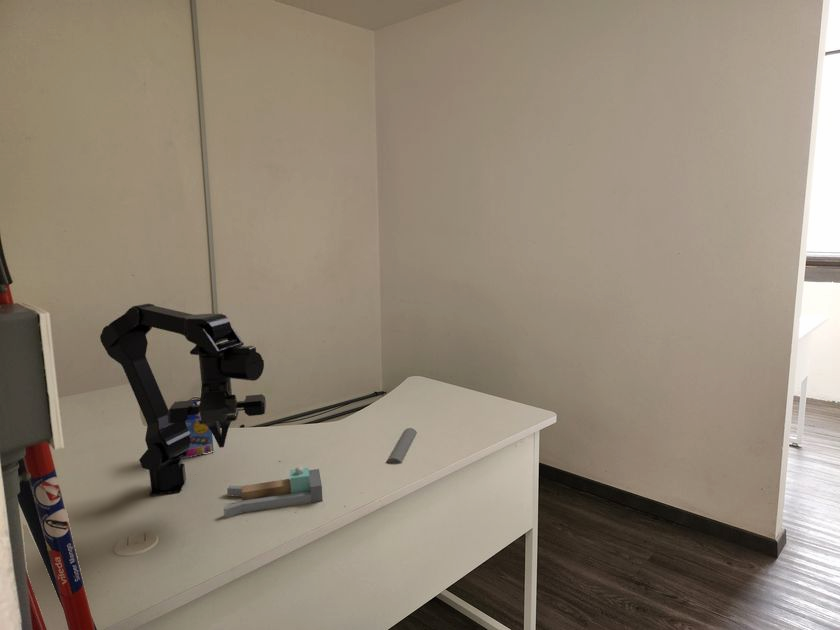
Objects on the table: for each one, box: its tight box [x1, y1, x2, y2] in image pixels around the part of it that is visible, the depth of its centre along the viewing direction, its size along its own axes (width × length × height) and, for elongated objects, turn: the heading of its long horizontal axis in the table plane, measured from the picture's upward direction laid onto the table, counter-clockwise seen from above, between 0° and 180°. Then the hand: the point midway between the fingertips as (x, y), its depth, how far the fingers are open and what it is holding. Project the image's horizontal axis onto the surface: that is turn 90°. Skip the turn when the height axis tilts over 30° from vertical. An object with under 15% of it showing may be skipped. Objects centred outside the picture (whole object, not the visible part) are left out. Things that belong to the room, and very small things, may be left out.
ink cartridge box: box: [181, 400, 215, 460], centre depth 139 cm, size 10×6×14 cm, turn 117°
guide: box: [223, 468, 323, 519], centre depth 117 cm, size 20×10×4 cm, turn 105°
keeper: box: [289, 466, 310, 494], centre depth 118 cm, size 4×4×6 cm
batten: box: [241, 478, 291, 502], centre depth 116 cm, size 10×3×4 cm, turn 107°
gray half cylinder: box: [386, 427, 418, 464], centre depth 142 cm, size 4×20×2 cm, turn 169°
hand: (221, 446), depth 114 cm, fingers closed
